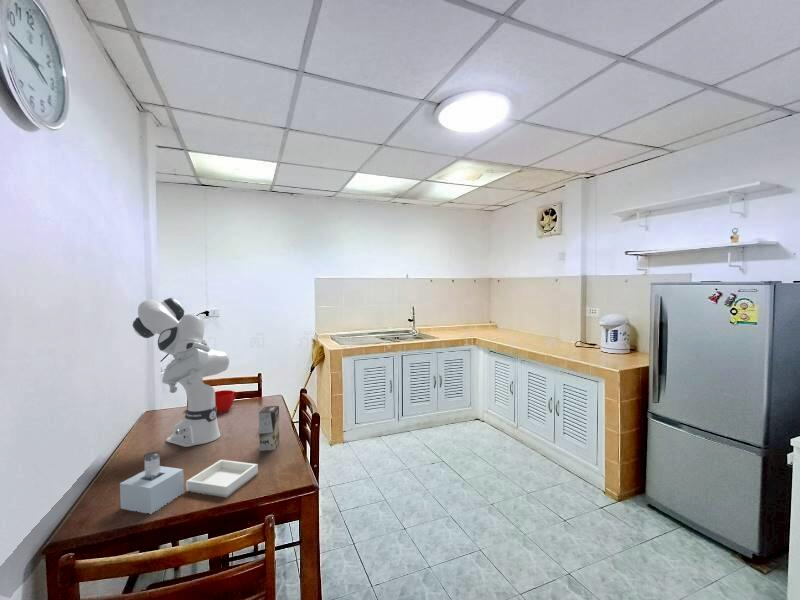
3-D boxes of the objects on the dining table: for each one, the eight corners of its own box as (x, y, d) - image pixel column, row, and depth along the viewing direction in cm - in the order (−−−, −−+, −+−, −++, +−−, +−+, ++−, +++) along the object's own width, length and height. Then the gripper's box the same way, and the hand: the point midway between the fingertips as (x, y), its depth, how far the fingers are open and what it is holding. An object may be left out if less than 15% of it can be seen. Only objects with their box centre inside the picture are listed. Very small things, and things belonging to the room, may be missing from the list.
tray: (186, 491, 125) (186, 481, 124) (221, 468, 140) (220, 459, 140) (226, 497, 120) (226, 487, 120) (257, 473, 136) (257, 464, 136)
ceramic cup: (245, 407, 214) (244, 389, 213) (220, 416, 198) (219, 397, 198) (228, 404, 219) (228, 387, 219) (203, 413, 204) (202, 395, 203)
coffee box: (275, 450, 155) (273, 412, 155) (259, 451, 155) (258, 413, 154) (280, 441, 165) (279, 405, 164) (265, 442, 164) (264, 406, 163)
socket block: (120, 508, 115) (119, 483, 115) (155, 488, 127) (154, 465, 127) (151, 514, 112) (150, 488, 112) (184, 492, 124) (183, 469, 123)
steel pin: (142, 487, 118) (141, 456, 118) (153, 481, 122) (152, 451, 121) (152, 489, 117) (151, 457, 116) (163, 482, 121) (162, 452, 120)
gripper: (161, 360, 140) (154, 395, 133) (197, 340, 134) (192, 376, 126) (177, 365, 145) (171, 399, 138) (213, 346, 138) (208, 380, 131)
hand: (181, 387), depth 132 cm, fingers open, 8 cm apart
